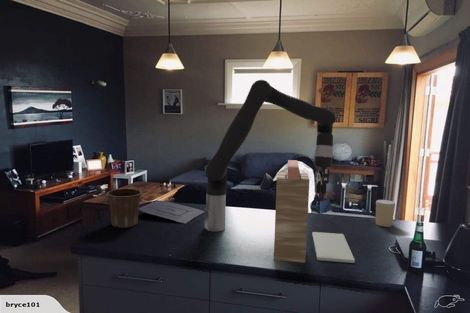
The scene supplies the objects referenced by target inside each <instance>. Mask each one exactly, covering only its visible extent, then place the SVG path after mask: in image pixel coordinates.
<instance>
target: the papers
mask: <svg viewBox="0 0 470 313" xmlns="http://www.w3.org/2000/svg"><path fill="white" fill-rule="evenodd" d="M139 211H141V212H143V213H145V214H149V215H153V216H156V217H160V218H164V219H168V220H171V221H175V222H178V223H181V224H184V225H185V224H187V223H189V222H190V221H191V220H193V219H194V218H196V217H198V216H200V215H201V214H205V210H201V209H199V208H195V207H191V206H188V205H184V204H179V203H175V202H171V201H169V202H168V201H165V200H163V201H162V200H155V201H153V202H150V203H148V204H146V205H142V206H141V207H140V206H139Z"/></svg>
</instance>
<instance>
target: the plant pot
mask: <svg viewBox="0 0 470 313" xmlns="http://www.w3.org/2000/svg"><path fill="white" fill-rule="evenodd" d="M142 194H143V193H142V190H140V189H136V188H117V189H112V190H109V191H107V192H106V195H107V198H108V199H107V200H108V202H109V210H110V220H111V226H112V227H114V228H116V227H117V228H119V229H122V228H123V229H127V228H132V227H134V226H137V225H138V223H139V222H138V220H139V211H140V210H139V208H140V201H141V195H142Z"/></svg>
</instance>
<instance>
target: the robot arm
mask: <svg viewBox="0 0 470 313" xmlns="http://www.w3.org/2000/svg"><path fill="white" fill-rule="evenodd" d="M264 103H268V104H270V105H275V106H277V107H280V108H282V109H284V110H286V111H288V112H290V113H292V114H293V115H295V116H298V117H300V118H302V119H304V120H310V121H314V122H315V123H316V124H317V125H316V129H317V130H316V133H317V135H316V145H315V151H314V161H313V162H314V163H313V166H314V167H315V168H318V169H316V170H315V181H314V182H315V185H316V187H315V193H316V194H321V195H322V194H323V195H326V194H327V186H328V184H329V182H330V181H329V180H330V168H332V166H333V153H334V152H333V151H334V150H333V145H334V144H333V143H334V136H333V127H334V124H335V122H336V118H337V117H336V114H335V113H334V112H333V111H331V110H330V109H328V108H324V107H321V106H317V105H315V104H312V103H310V102H308V101H305V100H303V99H302V98H301V99H300V98H297V97H294V96H291V95H289V94H286V93H283V92H282V91H280V90H278V89H277V88H275V87H273V86H272V85H271V84H270V83H269V82H268V81H267V80H265V79H258V80H256V81H254V82H253V83H252V85H251V86H250V89H249V91H248V93H247V96H246V98H245V100H244V102H243V104H242V106H241V108H240V109H239V110H238V112H237V113H236V115H235V117H234V118H233V120H231V123H230V125H229V126H228V128H227V130H226V132H225V134H224V136H223V138H222V140H221V143H220V145H219V148H218V150H217V151H216V153H215V154H214V155H213V157H212V158H211V159H210V161H209V162H208V164H207V165H206V167H205V176H206V177H207V184H206V185H207V186H206V190H205V191H206V194H205V195H206V196H205V197H206V199H205V203H206V204H205V208H204V211H205V212H204V229H206V231H208V232H222V231H225V230H226V204H227V201H226V198H227V196H226V195H227V183H228V166H229V165H230V162H231V161H232V158H233V157H234V155H235V154H236V153H237V152H238V151H239V149H240V147H242V145H243V143H244V142H245V141H246V139H247V138H248V135H249V133H250V131H251V129H252V127H253V125H254V122H255V119H256V117H257V114H258V113H259V111H260V109H261V107H262V106H263V105H264Z"/></svg>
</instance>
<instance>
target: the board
mask: <svg viewBox="0 0 470 313" xmlns="http://www.w3.org/2000/svg"><path fill="white" fill-rule="evenodd" d="M311 235H312V240H313V245H314V250H315V255H316V259H317V260H316V261H322V262H323V261H324V262H325V261H326V262H337V263H351V264H356V263H355V262H356V259H355V257H354V255H353V253H352V251H351V248H350V246H349V244H348V242H347V240H346V237H345V235H344V234H343V233H334V232H333V233H332V232H320V231H312V233H311Z"/></svg>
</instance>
